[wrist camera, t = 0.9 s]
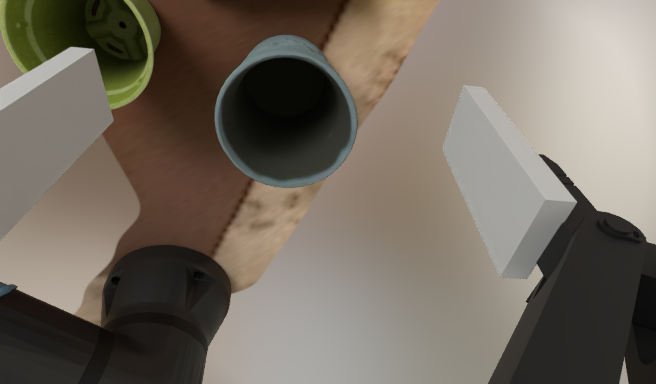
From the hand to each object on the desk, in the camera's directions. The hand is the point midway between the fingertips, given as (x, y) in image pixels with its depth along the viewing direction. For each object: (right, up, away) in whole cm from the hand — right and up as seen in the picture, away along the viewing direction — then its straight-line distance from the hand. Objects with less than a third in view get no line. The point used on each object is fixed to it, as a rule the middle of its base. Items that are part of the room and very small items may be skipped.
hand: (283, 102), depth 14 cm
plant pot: (-16, +11, +19) cm, 27 cm away
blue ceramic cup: (-2, +8, +23) cm, 24 cm away
